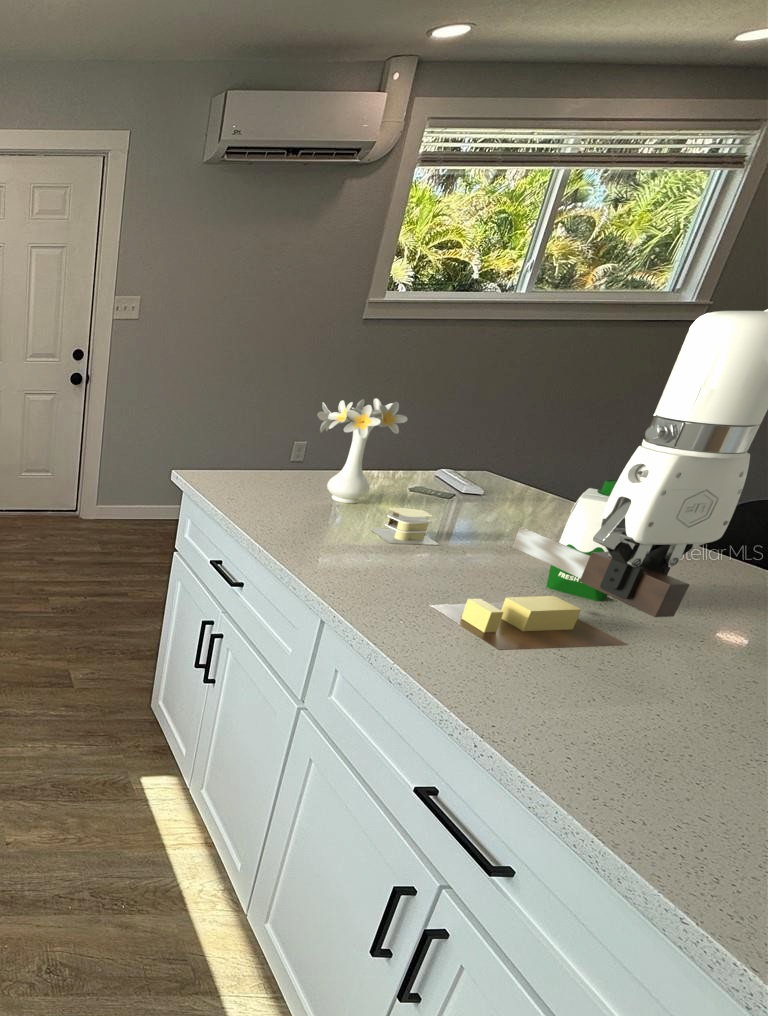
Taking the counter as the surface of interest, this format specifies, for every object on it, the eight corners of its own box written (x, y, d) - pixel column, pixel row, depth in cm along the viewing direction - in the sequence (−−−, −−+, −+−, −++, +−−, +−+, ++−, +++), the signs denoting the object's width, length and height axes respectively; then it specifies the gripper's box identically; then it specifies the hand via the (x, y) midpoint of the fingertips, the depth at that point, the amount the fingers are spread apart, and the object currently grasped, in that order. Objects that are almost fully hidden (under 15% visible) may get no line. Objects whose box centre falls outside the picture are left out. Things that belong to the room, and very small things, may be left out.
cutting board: (540, 608, 106) (543, 600, 105) (625, 653, 93) (629, 644, 92) (425, 612, 105) (428, 604, 104) (495, 658, 92) (499, 649, 91)
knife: (673, 616, 70) (690, 584, 68) (654, 617, 70) (670, 584, 68) (520, 546, 88) (530, 519, 86) (505, 547, 88) (515, 520, 86)
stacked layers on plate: (416, 529, 140) (423, 506, 137) (440, 545, 131) (447, 520, 129) (368, 528, 141) (374, 504, 138) (389, 543, 132) (396, 518, 130)
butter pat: (473, 617, 100) (479, 598, 98) (496, 632, 96) (504, 612, 94) (460, 618, 100) (467, 598, 98) (484, 632, 96) (491, 612, 94)
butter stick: (546, 615, 100) (554, 595, 99) (572, 629, 96) (581, 609, 95) (498, 617, 100) (505, 597, 99) (523, 631, 96) (531, 611, 95)
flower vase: (306, 487, 169) (326, 392, 159) (386, 499, 159) (413, 398, 149) (297, 500, 159) (317, 399, 149) (382, 513, 149) (410, 407, 139)
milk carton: (612, 597, 109) (661, 486, 102) (603, 613, 104) (655, 497, 96) (547, 580, 116) (589, 474, 108) (535, 594, 110) (578, 484, 102)
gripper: (661, 446, 63) (591, 610, 70) (815, 443, 63) (729, 607, 70) (589, 430, 69) (532, 581, 77) (728, 428, 70) (659, 578, 77)
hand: (627, 592), depth 73 cm, fingers closed on knife, 2 cm apart
